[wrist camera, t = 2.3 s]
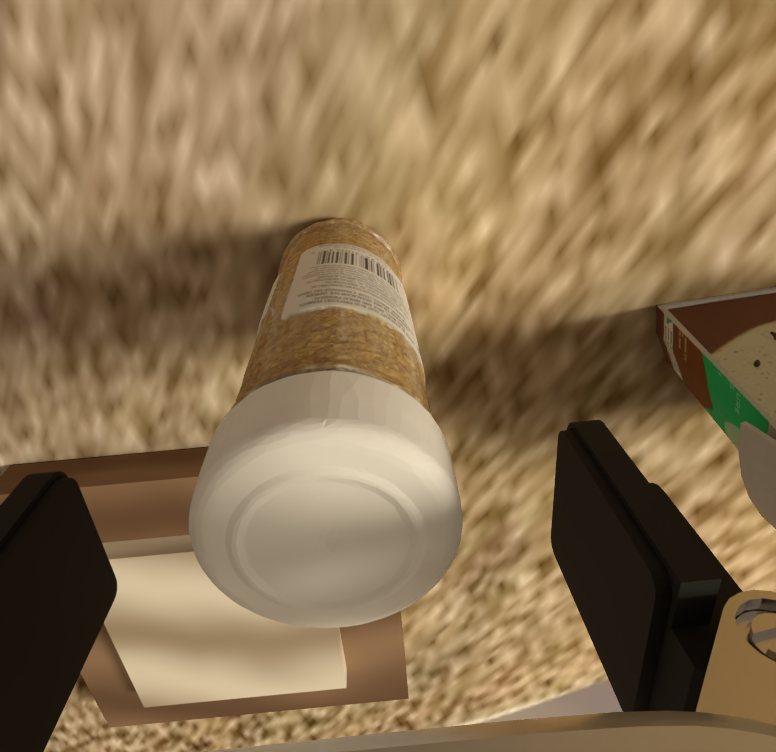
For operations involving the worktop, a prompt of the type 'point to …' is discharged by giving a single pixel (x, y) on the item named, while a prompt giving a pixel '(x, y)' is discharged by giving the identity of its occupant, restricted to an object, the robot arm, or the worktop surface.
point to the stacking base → (202, 613)
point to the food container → (732, 375)
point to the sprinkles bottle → (329, 448)
